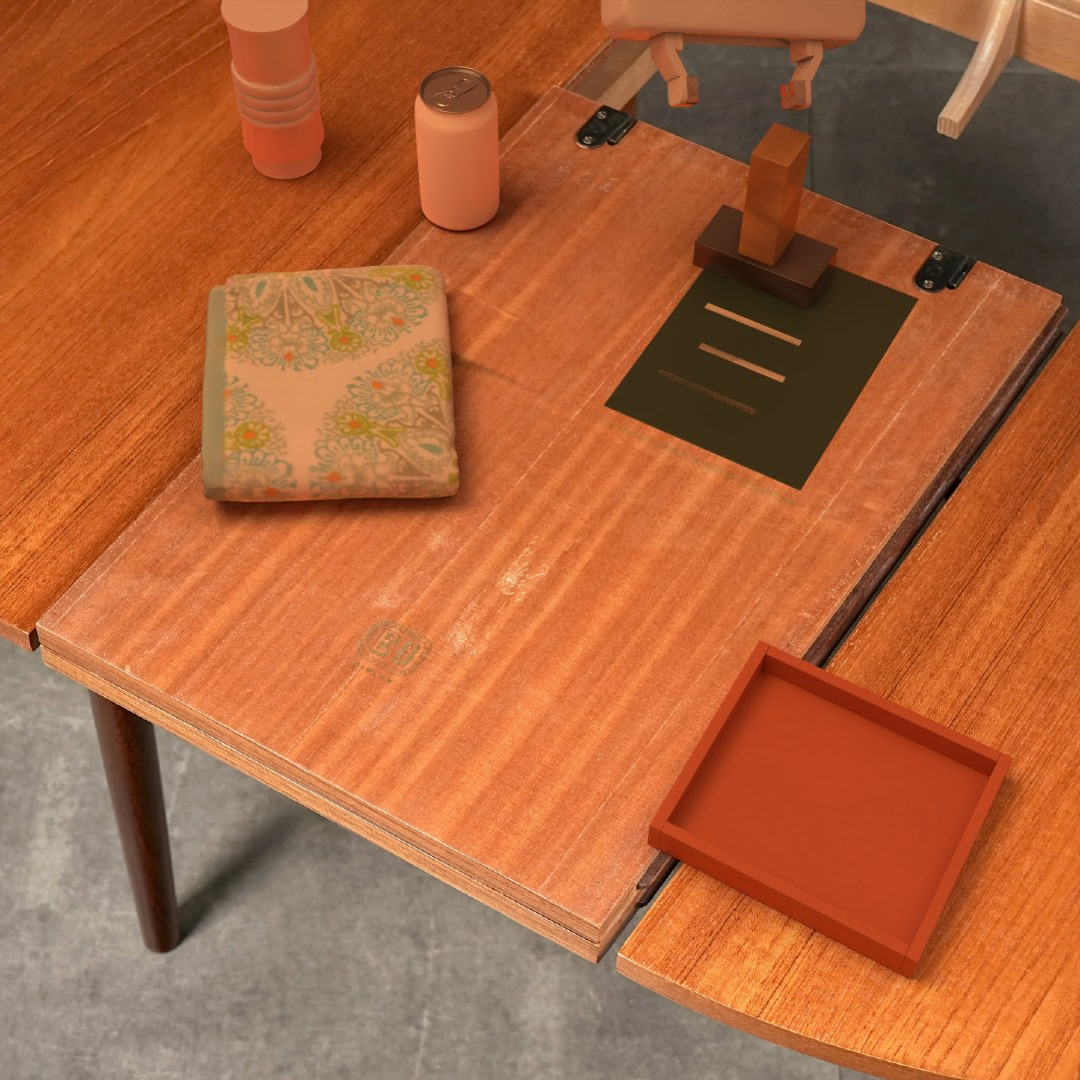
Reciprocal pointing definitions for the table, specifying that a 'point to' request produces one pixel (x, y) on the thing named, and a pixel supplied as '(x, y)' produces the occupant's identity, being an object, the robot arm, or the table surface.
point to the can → (457, 148)
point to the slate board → (762, 369)
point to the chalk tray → (831, 806)
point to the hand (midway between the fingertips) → (741, 107)
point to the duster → (769, 227)
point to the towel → (329, 386)
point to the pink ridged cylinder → (275, 84)
